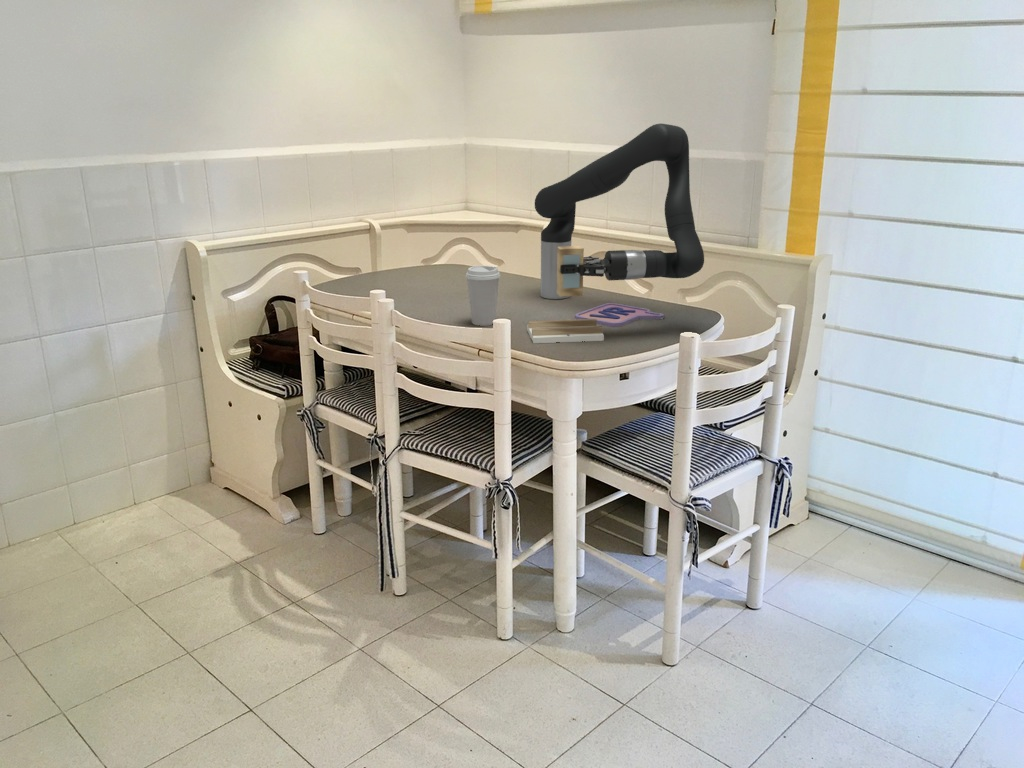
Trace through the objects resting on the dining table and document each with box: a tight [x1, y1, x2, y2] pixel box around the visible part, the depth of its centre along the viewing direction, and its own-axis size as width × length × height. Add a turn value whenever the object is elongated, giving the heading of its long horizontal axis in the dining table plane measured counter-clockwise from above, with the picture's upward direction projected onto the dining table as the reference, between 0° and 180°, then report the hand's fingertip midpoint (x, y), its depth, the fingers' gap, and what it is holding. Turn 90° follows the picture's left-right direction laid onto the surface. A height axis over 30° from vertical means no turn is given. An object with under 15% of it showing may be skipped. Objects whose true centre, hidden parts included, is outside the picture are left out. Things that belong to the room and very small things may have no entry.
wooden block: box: [557, 245, 585, 297], centre depth 209 cm, size 6×4×12 cm, turn 99°
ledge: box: [526, 318, 605, 344], centre depth 214 cm, size 12×18×3 cm, turn 97°
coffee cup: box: [464, 265, 502, 327], centre depth 224 cm, size 10×10×15 cm
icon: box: [574, 302, 665, 328], centre depth 231 cm, size 19×2×20 cm
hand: (559, 267), depth 208 cm, fingers closed on wooden block, 3 cm apart
